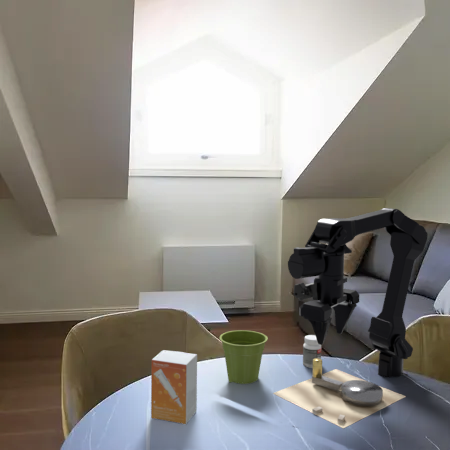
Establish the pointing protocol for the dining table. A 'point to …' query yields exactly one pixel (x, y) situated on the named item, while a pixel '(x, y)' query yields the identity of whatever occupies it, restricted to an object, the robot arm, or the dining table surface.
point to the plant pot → (243, 355)
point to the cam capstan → (349, 387)
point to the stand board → (333, 400)
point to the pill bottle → (311, 350)
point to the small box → (174, 386)
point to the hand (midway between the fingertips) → (330, 338)
